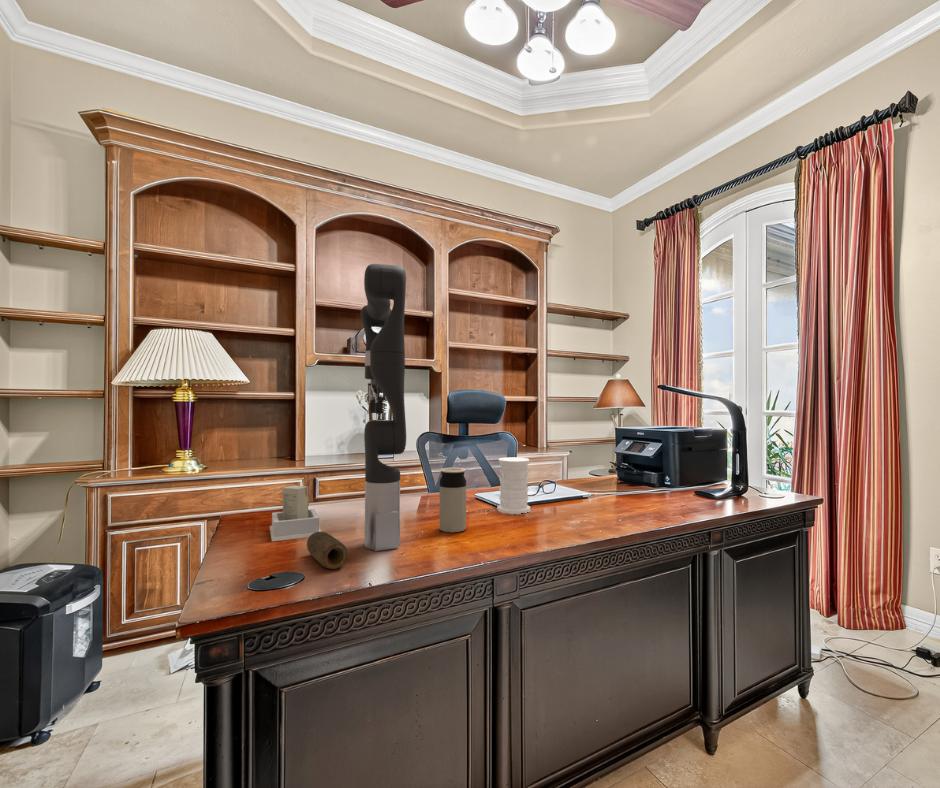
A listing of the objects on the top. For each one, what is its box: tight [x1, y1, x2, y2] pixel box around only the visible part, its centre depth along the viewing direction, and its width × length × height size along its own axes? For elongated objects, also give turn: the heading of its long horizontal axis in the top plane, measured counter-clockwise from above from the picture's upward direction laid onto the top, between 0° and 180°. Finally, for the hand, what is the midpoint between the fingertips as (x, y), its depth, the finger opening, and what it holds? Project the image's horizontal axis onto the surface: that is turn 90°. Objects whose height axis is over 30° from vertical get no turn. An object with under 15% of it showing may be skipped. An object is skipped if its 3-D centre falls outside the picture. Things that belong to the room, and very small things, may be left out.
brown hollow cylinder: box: [306, 530, 348, 570], centre depth 111 cm, size 15×7×7 cm, turn 38°
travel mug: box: [438, 467, 467, 534], centre depth 139 cm, size 8×8×18 cm
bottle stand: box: [269, 508, 322, 542], centre depth 135 cm, size 13×13×5 cm
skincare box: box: [282, 484, 309, 520], centre depth 135 cm, size 6×4×12 cm
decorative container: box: [496, 456, 531, 515], centre depth 163 cm, size 12×12×18 cm
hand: (376, 413), depth 155 cm, fingers open, 8 cm apart
